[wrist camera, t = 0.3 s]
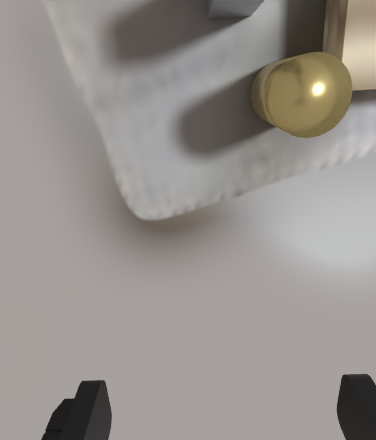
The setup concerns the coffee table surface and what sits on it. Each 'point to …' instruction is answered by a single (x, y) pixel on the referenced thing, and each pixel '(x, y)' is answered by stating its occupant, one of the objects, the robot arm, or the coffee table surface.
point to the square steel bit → (232, 8)
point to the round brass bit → (303, 93)
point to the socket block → (353, 39)
